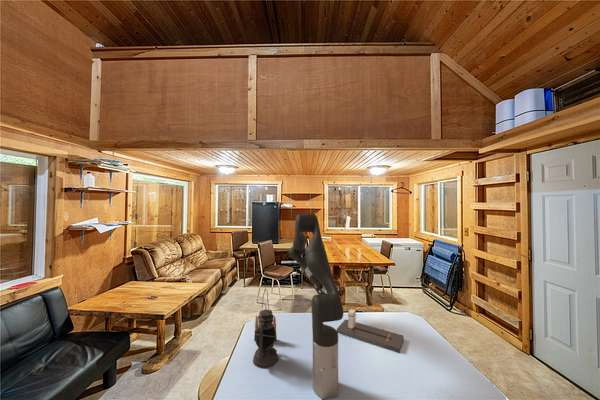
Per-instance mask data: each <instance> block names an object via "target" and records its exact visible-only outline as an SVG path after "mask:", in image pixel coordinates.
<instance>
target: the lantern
mask: <svg viewBox="0 0 600 400" xmlns="http://www.w3.org/2000/svg"><path fill="white" fill-rule="evenodd" d="M263 291H264V292H263V295H262V299H264V296H265V293H266V301H267V305H266V304H265V309H263V307H264V300H261V301H262V303H261V310H260V311H259V313H258V314H259V315H257V317H258V329H257V332H256V334H255V333H254V336H255V335H256V338H255V341H254V342H255V344H256V346H257V349H256V350H255V352H254V355H253V358H252V364H253V365H254V366H255V367H256V368H259V369H269V368H271V367H273V366H275V365H276V364H277V363H278V361H279V356H278V353H277V352H278V350H277V349H276V348H275V347H274V346H275V345H274V344H275V343H276V342H275V340H276V335H277V330H276V331H275V328H274V327H273V319H274V316H275V315H274V314H273V311H272V310H271V309H270V305H269V294H268V293H269V292H268V290H267V289H266V288H264V290H263ZM267 308H268V309H267ZM276 341H277V340H276Z"/></svg>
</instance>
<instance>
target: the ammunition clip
mask: <svg viewBox="0 0 600 400" xmlns="http://www.w3.org/2000/svg"><path fill="white" fill-rule="evenodd" d="M273 316H274V318H273V327H274V328H275V331H276V332H277V320H276V316H275V315H273ZM258 320H259V319H258V315H255V321H254V342H255V338H256V335H255V334H256V332H257V329H258V325H259V322H258ZM277 339H278V338H277V334H276V340H275V343H276V342H277Z"/></svg>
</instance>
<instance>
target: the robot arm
mask: <svg viewBox="0 0 600 400" xmlns="http://www.w3.org/2000/svg"><path fill="white" fill-rule="evenodd" d="M294 221H295V222H294V239H293V242H292V246H291V247H290V248H289V249H288V255H289V257H290V258H291V259H292V260H293V261H295V262H296V263H298V265H300V267H301V268H302V269H303V271H304V272H305V274H306V276H307V277H308V279H309V280H310V281H311V282H312V284H313V285H314V286H313V289H315V291H316V293H317V294H314V295H312V297H311V319H312V320H311V322H312V323H311V324H312V327H311V328H312V330H311V331H312V390H313V391H314V393H315V394H316V395H317V396H319V398H320V400H325V399H329V398H330V399H331V398H336V397H339V334H338V332H337V328H334V327H333V326H331V325H327V324H324V323H329V322H331V323H332V322H337V321H341V320H342V319H343V317H344V306H343V301H342V299H341V296H340V293H339V290H338V288H337V285H336V283H335V280H334V277H333V274H332V273H333V272H332V270H331V266H330V261H329V257H328V254H327V251H326V248H325V245H324V242H323V238H322V233H321V229H320V228H321V227H320V222H319V220H318V216H317V215H316V214H315V213H299V214H297V215H296V217H295V220H294ZM305 233H312V237H311V239H310V242H309V243H308V245H307V247H306V244H307V236H306V235H305ZM302 255H304V256H303V257H302Z"/></svg>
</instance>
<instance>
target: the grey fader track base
mask: <svg viewBox="0 0 600 400" xmlns="http://www.w3.org/2000/svg"><path fill="white" fill-rule="evenodd" d="M336 331H337V332H338V333H340V334H339V335H341V334H343V335H342V336H345V335H346V336H345V337H348V336H349V337H348V338H351V337H352V339H354V338H355V339H354V340H357V339H358V340H357V341H361V342H363V343H366V344H369V345H372V346H373V345H374V346H376V347H378V348H382V349H386V350H388V351H391V352H394V353H398V354H400V353H401V349H402V346H403V343H404V339H405V338H404V335H402V334H399V333H395V332H392V331H389V330H386V329H381V328H377V327H374V326H370V325H367V324H363V323H360V322H357V321H356V325H355V327H354V328H353V329H352V328H349V327H348V319H346V318H345V319H344V320H343V321H342V322H341V323H340V325H338V327H337V328H336Z"/></svg>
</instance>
